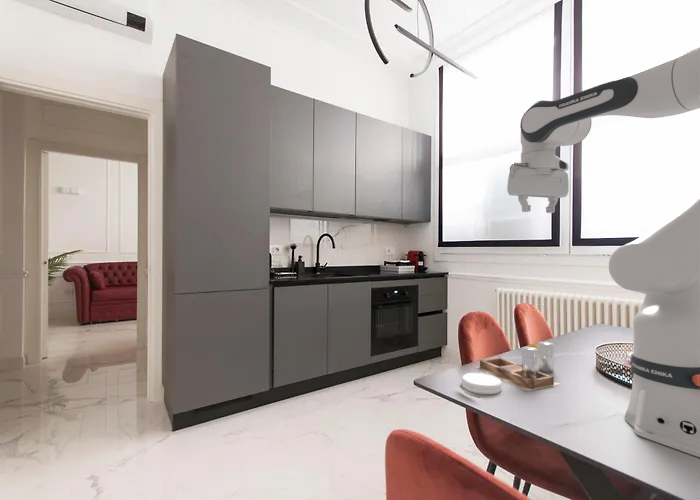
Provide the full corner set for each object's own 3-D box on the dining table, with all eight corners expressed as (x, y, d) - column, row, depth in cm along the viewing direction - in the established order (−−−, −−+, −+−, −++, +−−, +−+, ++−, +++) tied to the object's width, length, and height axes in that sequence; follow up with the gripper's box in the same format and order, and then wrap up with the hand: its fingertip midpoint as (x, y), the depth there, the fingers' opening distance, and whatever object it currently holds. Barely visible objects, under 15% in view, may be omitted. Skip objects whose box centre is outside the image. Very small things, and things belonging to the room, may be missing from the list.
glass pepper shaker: (557, 374, 104) (556, 344, 104) (547, 376, 103) (546, 345, 103) (545, 370, 108) (544, 341, 108) (535, 372, 107) (535, 342, 107)
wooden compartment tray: (560, 387, 95) (560, 376, 95) (527, 394, 90) (527, 383, 90) (503, 365, 113) (503, 356, 113) (473, 370, 109) (473, 360, 109)
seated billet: (541, 383, 95) (541, 349, 95) (530, 385, 94) (530, 351, 94) (529, 378, 99) (529, 346, 99) (518, 380, 98) (518, 347, 98)
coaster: (505, 401, 87) (505, 387, 87) (463, 398, 89) (463, 384, 89) (497, 386, 97) (497, 373, 97) (459, 383, 99) (459, 371, 99)
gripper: (519, 158, 95) (520, 209, 95) (572, 164, 103) (573, 212, 102) (501, 164, 101) (502, 212, 101) (553, 169, 108) (553, 214, 108)
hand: (538, 212), depth 102 cm, fingers open, 8 cm apart
